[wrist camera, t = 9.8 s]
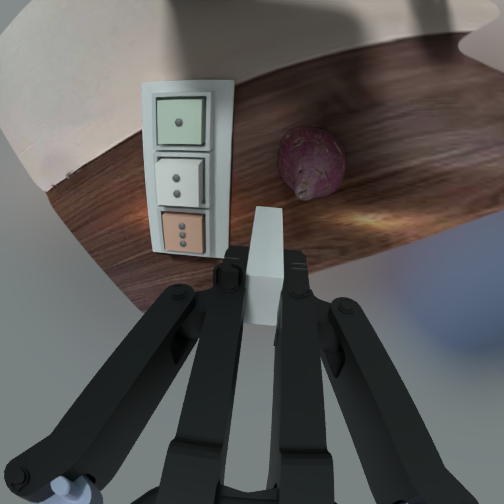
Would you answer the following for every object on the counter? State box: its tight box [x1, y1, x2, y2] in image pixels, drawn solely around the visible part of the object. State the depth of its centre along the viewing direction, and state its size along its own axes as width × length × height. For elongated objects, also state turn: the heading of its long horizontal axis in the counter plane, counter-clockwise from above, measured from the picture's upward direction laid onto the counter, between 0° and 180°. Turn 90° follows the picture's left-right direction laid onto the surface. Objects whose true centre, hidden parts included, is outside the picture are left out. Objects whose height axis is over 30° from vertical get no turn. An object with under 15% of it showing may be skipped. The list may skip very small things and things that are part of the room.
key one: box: [157, 98, 207, 144], centre depth 40 cm, size 6×6×3 cm
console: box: [142, 80, 235, 258], centre depth 46 cm, size 30×14×4 cm, turn 176°
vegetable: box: [278, 127, 346, 201], centre depth 40 cm, size 10×10×15 cm
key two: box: [155, 158, 203, 207], centre depth 43 cm, size 6×6×3 cm
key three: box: [162, 211, 206, 253], centre depth 50 cm, size 6×6×3 cm
